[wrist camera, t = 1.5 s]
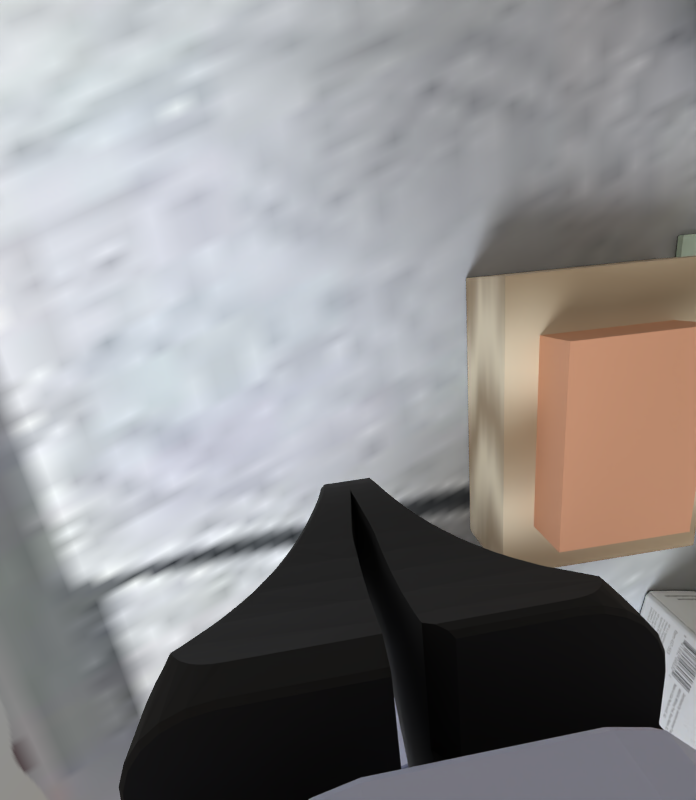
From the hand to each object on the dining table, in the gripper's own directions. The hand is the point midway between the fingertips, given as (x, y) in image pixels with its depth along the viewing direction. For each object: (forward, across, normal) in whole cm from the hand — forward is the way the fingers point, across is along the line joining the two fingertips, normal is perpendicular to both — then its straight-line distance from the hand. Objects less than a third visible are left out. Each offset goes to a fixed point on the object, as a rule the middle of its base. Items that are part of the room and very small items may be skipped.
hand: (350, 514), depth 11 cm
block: (+6, -12, +2) cm, 14 cm away
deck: (+10, -12, +2) cm, 16 cm away
